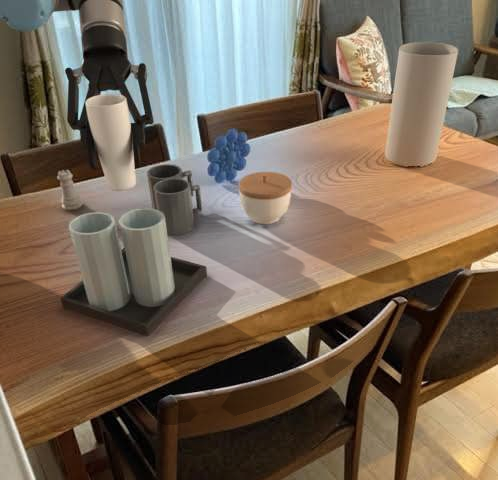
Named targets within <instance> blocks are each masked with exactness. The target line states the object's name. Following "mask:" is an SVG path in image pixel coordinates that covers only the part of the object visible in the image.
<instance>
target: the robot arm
mask: <svg viewBox="0 0 498 480" xmlns="http://www.w3.org/2000/svg"><path fill="white" fill-rule="evenodd" d="M123 4H124V3H123V0H0V19H1V20H2V22H4V23H5V24H6V25H7V26H9V27H10V28H11V29H13V30H16V31H19V32H26V33H27V32H28V33H29V32H34V31H35V30H38V29H40V28H42V27H43V26H45V25H46V23H48V22H49V20H50V17H52V14H53V13H55V12H68V11H69V12H70V11H72V12H74V11H78V16H79V17H78V18H79V28H80V35H81V38H80V39H81V40H80V41H81V51H82V63H81V64H80V67H78V68H77V67H76V68H74V69H73V68H71V67H66V68H65V69H64V73H65V75H66V78H67V82H68V83H67V111H66V112H67V115H66V121H67V123H68V125H69V127H70V128H71V130H73V131H79V140H80V145H81V147H82V149H83V150H84V151H87V157H88V158H87V159H88V165H89V166H90V168H91V170H92V171H97V170H98V166H97V155H96V146H95V142H94V139H93V136H92V132H91V129H90V125H89V121H88V116H87V110H86V104H85V102H86V100H87V99H89V98H91V97H93V96H97V95H102V92H107V91H113V92H114V91H119V95H123V96H125V97H126V99H127V104H128V109H129V114H130V117H131V118H132V120H133V121H134V122H131V130H132V142H133V154H134V164H135V167H142V161H141V151H140V146H142V147H143V146H145V145H146V137H145V136H146V135H145V127H146V126H148V125H150V126H151V125H153V124H154V122H155V120H154V115H153V110H152V106H151V101H150V97H149V91H148V86H147V80H148V71H147V65H146V64H145V63H143V62H141V63H139V64H137V65H136V64H132V63H131V61H130V60H129V56H128V44H127V43H128V42H127V37H126V33H127V32H126V25H125V24H126V23H125V13H124V5H123ZM131 74H133V77H134V79H135V80H137V83H138V87H139V92H140V97H141V102H142V106H143V111H144V114H142V115H141V113H140V111H139V109H138V107H137V106H136V103H135V101H134V98H133V97H132V94H131V93H130V91H129V88H128V87H127V85H126V82H127V80H128V78H129V77H130V76H131ZM82 77H84V78H85V79H86V80H87V81H88V84H87V87H88V88H87V92H86V95H85V99H84V102H83V105H82V109H81V113H80V116H79V107H80V87H79V85H81V82H82Z"/></svg>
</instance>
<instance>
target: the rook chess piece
mask: <svg viewBox="0 0 498 480" xmlns="http://www.w3.org/2000/svg"><path fill="white" fill-rule="evenodd" d="M73 177H74V175H73V174H72V173H71V170H69V169H66V170H65V169H62V170H59V171H58V172H57V177H56V179H57V180H59V181H60V184H59V185H60V186H61V190H62V191H61V192H62V196H61V200H60V203H61V207H62V209H63V210H66V211H68V212H71V211H76V210H78V209H80V208H81V207H82V206H83V201H82V198H81V196H80V195H79V194H78V193H77V191H76V188H75V187H74V180H72V179H73Z"/></svg>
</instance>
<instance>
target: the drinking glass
mask: <svg viewBox="0 0 498 480" xmlns="http://www.w3.org/2000/svg"><path fill="white" fill-rule="evenodd" d="M84 102H85V101H84ZM85 104H86V110H87V116H88V121H89V125H90V129H91V132H92V136H93V139H94V142H95V150H96V152H97V155H98V158H99V162H100V165H101V169H102V171H103V175H104V181H105V185H106V187H107V188H108V189H109V190H111V191H114V192H124V191H125V192H126V191H128V190H131V189H133V188H134V187H135V186H136V184H137V182H138V181H137V174H136V168H135V167H136V165H135V161H134V151H133V140H132V130H131V123H132V122H131V114H130V112H129V109H128V104H127V99H126V97H125V96H123V95H121V94H120V93H101V94H100V95H97V96H93V97H91V98H89V99H87V100H86V102H85Z"/></svg>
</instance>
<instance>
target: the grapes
mask: <svg viewBox="0 0 498 480" xmlns="http://www.w3.org/2000/svg"><path fill="white" fill-rule="evenodd" d="M247 141H248V135H247V133H246V132H245V131H240V132H238V130H237V129H236V128H230V129H228V130H227V132H226V134H225V135H224V134H222V135H221V134H220V135H218V136H217V137H216V138H215V140H214V147H215V148H212V149H210V150H209V151H208V152H207V156H206V158H207V159H206V160H207V161H208V163H209V165H208V166H207V169H206V171H207V172H206V173H207V174H208V176H209V177H214V178H213V179H214V182H215V183H216V184H223V182H225V180H226V181H227V182H232V181H234V180H235V179H236V177H237V175H238V172H241V171H244V170H245V168H246V166H247V159H246V157H248V156H249V155H250V153H251V145H250V144H249V143H247Z"/></svg>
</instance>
